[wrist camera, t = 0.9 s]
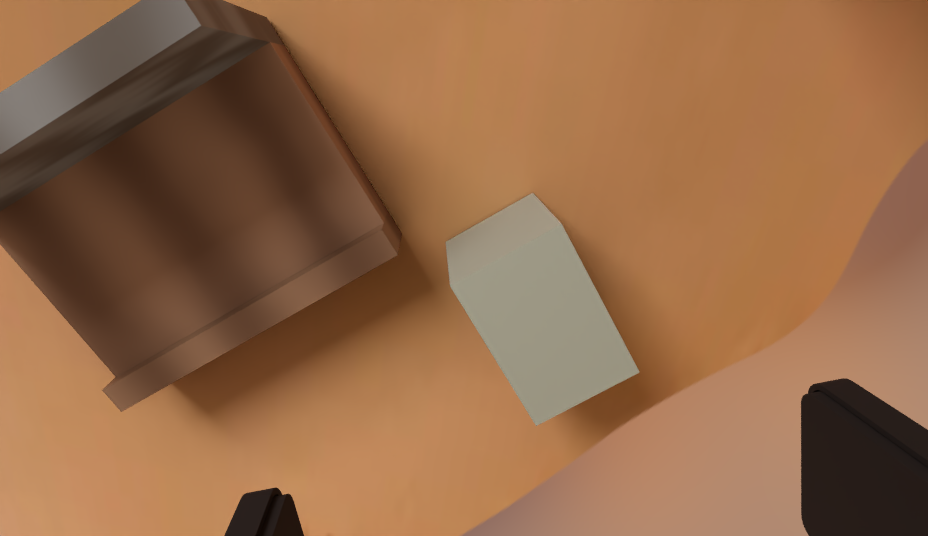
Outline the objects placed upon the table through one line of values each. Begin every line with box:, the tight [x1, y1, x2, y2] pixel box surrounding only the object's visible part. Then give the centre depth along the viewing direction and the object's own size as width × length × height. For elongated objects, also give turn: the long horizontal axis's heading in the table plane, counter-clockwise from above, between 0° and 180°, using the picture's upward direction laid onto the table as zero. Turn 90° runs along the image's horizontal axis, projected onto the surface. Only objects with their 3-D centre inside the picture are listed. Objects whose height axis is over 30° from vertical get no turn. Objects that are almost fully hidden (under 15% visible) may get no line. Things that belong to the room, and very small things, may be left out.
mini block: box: [446, 193, 639, 426], centre depth 33 cm, size 6×9×8 cm, turn 30°
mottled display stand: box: [0, 0, 402, 412], centre depth 28 cm, size 18×14×12 cm
